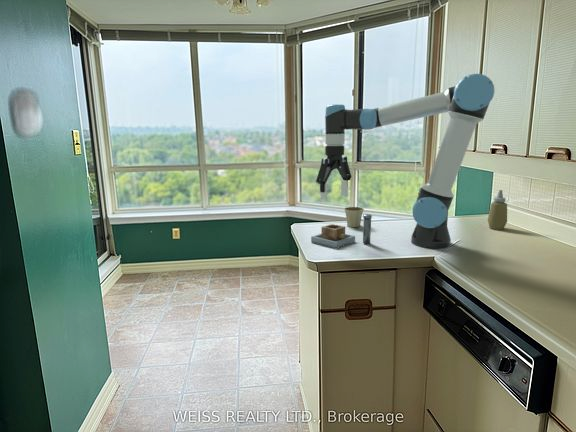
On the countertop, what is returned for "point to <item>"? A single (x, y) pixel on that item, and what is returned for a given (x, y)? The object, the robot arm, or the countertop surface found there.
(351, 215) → the flower pot
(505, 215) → the squeeze bottle
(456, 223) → the countertop surface
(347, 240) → the tray
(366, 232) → the post
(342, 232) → the brown wooden box
